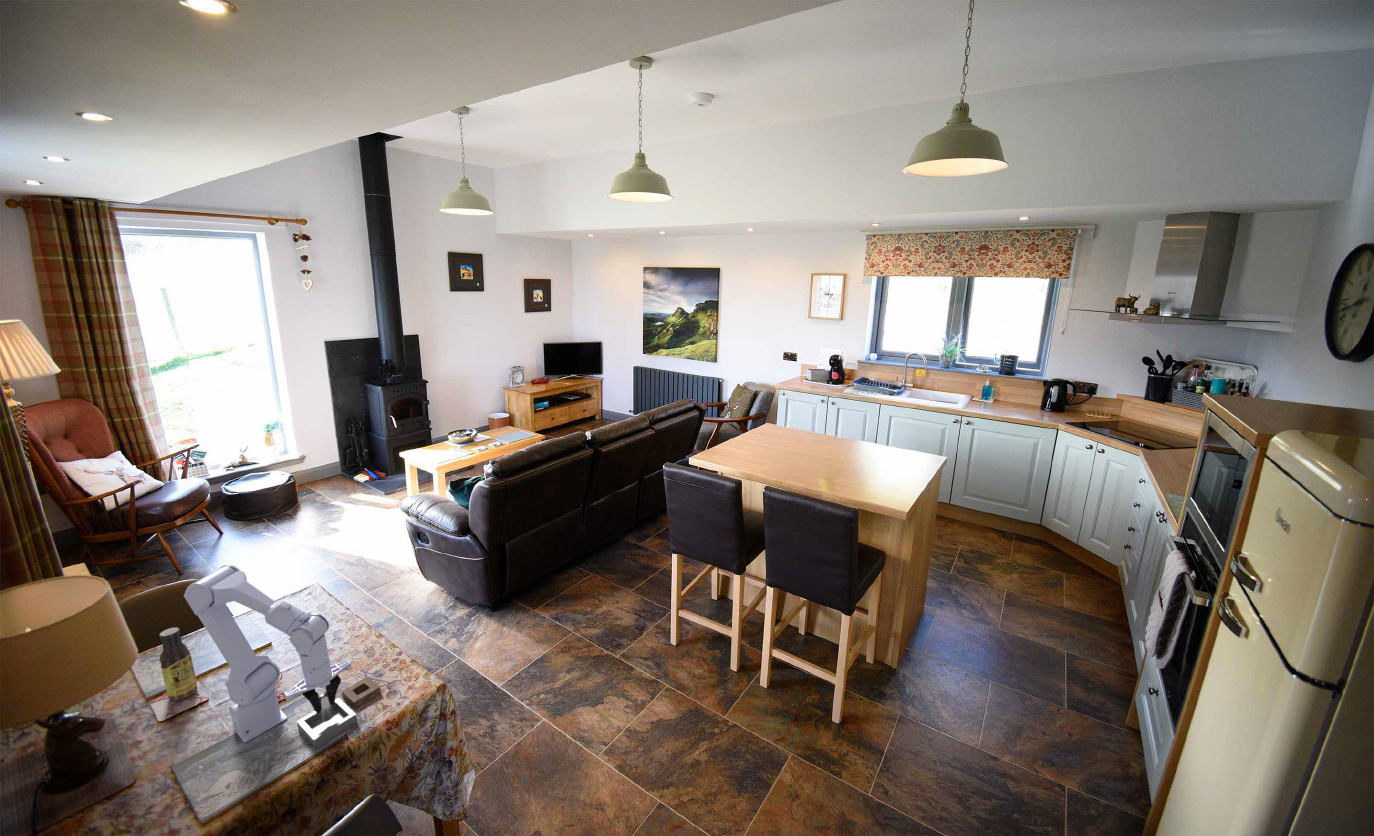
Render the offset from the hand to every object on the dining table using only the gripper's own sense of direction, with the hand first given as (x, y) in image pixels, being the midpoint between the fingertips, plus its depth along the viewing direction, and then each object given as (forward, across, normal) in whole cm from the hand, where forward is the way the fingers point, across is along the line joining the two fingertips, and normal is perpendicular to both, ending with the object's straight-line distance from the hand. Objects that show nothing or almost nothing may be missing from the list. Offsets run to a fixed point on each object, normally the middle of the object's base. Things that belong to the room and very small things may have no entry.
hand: (324, 706), depth 140 cm
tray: (+6, 0, 0) cm, 6 cm away
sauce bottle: (+7, -18, +46) cm, 49 cm away
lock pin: (+3, 0, 0) cm, 3 cm away
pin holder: (+6, +10, +4) cm, 13 cm away
